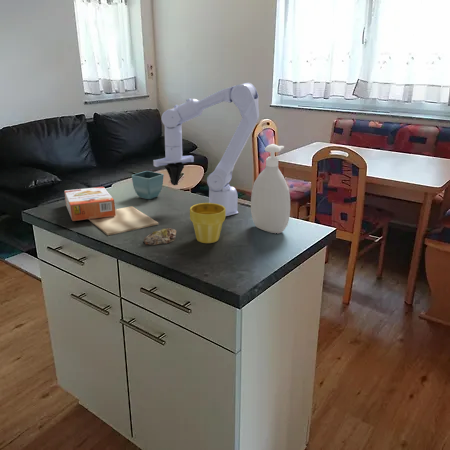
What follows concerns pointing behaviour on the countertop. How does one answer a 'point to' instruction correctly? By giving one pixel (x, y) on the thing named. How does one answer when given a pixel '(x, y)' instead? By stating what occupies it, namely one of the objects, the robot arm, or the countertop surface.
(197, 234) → the plant pot
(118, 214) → the board
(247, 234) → the countertop surface
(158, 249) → the countertop surface
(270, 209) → the soap bottle
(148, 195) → the flower pot
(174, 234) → the mineral rock
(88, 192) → the cracker box
